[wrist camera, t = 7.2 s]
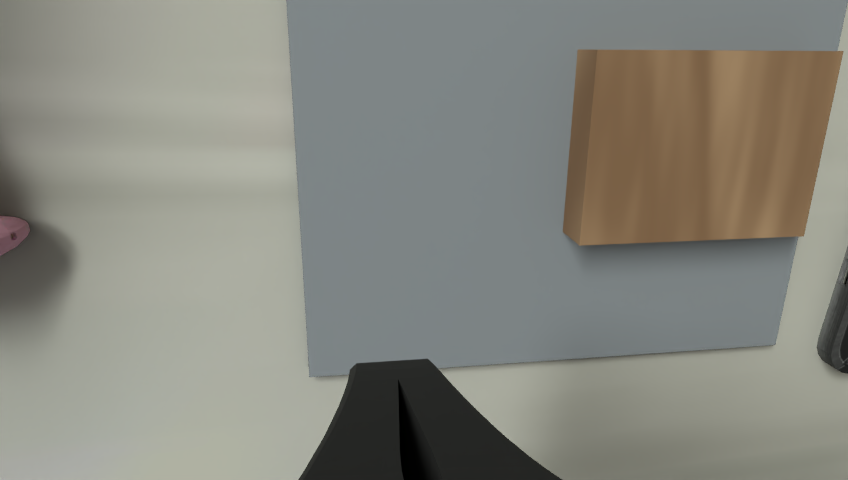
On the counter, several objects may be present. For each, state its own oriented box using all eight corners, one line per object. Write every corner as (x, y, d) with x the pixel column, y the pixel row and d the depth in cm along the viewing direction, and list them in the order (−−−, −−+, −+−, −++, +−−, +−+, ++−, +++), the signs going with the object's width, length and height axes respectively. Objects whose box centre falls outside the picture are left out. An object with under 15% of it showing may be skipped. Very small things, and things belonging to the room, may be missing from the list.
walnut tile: (579, 245, 19) (803, 236, 20) (597, 49, 17) (843, 50, 18) (562, 231, 21) (772, 223, 22) (577, 49, 19) (807, 50, 20)
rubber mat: (309, 371, 21) (309, 377, 21) (278, -145, 16) (277, -149, 16) (768, 340, 24) (775, 344, 23) (862, -116, 19) (873, -119, 18)
